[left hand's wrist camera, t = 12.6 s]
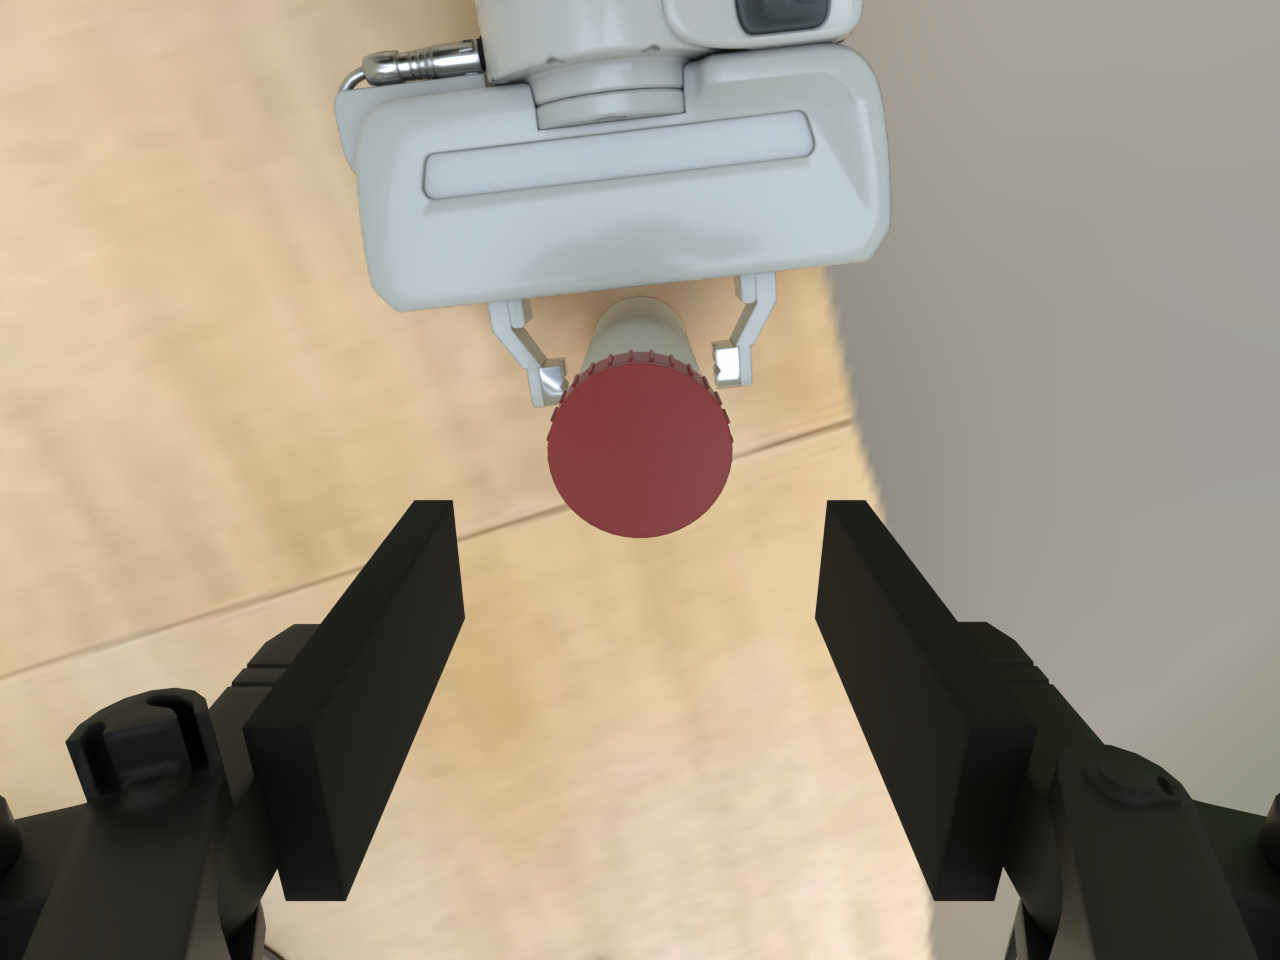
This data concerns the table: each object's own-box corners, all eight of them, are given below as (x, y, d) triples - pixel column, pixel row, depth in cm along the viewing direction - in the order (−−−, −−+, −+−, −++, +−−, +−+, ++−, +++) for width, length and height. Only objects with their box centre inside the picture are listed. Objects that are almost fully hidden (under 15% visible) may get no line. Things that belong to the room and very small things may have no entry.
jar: (618, 279, 35) (600, 339, 20) (703, 323, 36) (751, 414, 21) (577, 365, 37) (532, 484, 21) (660, 405, 38) (675, 548, 22)
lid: (598, 317, 21) (594, 326, 19) (759, 398, 22) (769, 413, 20) (524, 473, 23) (515, 494, 21) (677, 542, 24) (680, 567, 22)
